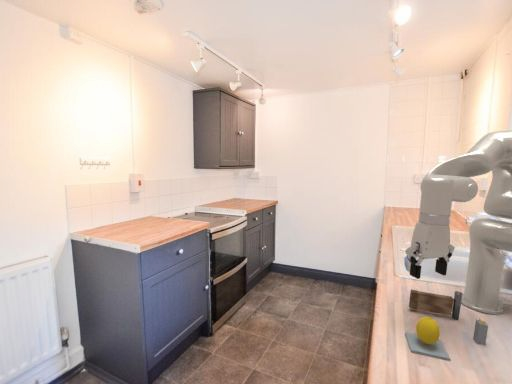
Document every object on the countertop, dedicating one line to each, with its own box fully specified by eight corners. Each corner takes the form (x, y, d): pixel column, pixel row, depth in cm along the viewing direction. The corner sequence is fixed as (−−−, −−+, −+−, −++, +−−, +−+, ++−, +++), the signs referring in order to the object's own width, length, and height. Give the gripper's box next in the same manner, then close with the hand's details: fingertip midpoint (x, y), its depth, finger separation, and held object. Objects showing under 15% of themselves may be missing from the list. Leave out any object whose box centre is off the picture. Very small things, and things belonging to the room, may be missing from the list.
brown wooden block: (449, 313, 90) (451, 296, 90) (451, 316, 89) (453, 299, 88) (408, 305, 94) (410, 289, 93) (410, 308, 92) (412, 292, 92)
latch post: (481, 340, 78) (484, 318, 78) (485, 345, 76) (488, 323, 75) (473, 338, 79) (476, 316, 78) (476, 343, 77) (480, 321, 76)
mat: (440, 341, 77) (440, 339, 77) (450, 360, 70) (450, 358, 70) (404, 334, 80) (405, 332, 80) (410, 351, 73) (411, 349, 72)
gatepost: (457, 317, 90) (461, 291, 89) (459, 320, 88) (463, 294, 87) (450, 316, 90) (453, 290, 89) (452, 319, 89) (456, 293, 87)
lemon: (416, 334, 79) (419, 309, 78) (439, 344, 75) (443, 317, 74) (412, 344, 75) (415, 317, 74) (436, 354, 71) (440, 326, 70)
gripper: (444, 215, 85) (438, 267, 87) (399, 217, 80) (394, 272, 82) (469, 220, 78) (462, 277, 80) (421, 223, 73) (415, 284, 75)
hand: (427, 275), depth 81 cm, fingers open, 9 cm apart
